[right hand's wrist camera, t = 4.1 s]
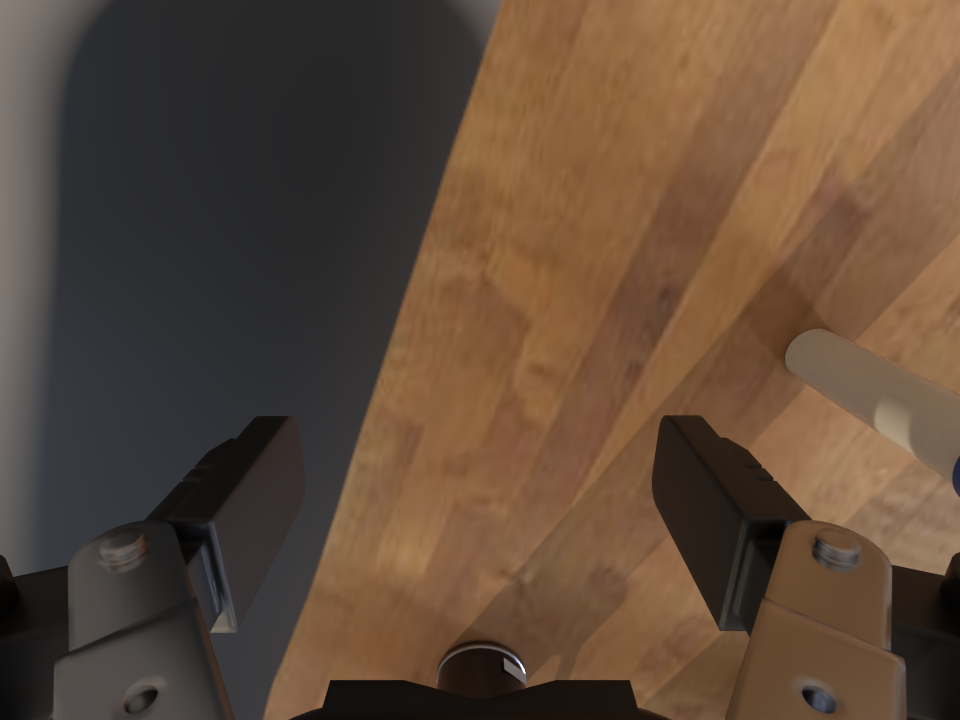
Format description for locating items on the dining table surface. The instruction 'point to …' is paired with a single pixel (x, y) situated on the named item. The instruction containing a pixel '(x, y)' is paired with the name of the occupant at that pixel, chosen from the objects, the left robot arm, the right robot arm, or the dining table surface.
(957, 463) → the lid
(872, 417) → the beige cylindrical rod
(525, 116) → the dining table surface
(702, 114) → the dining table surface
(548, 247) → the dining table surface
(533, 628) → the dining table surface
